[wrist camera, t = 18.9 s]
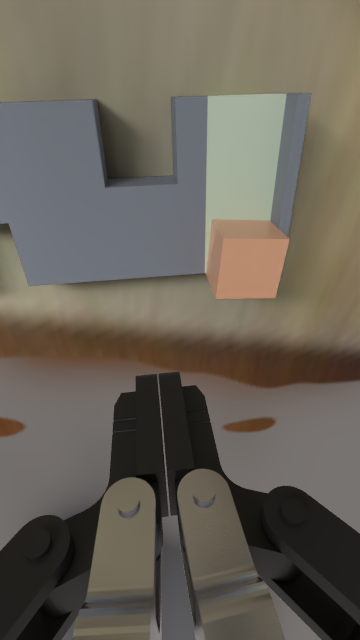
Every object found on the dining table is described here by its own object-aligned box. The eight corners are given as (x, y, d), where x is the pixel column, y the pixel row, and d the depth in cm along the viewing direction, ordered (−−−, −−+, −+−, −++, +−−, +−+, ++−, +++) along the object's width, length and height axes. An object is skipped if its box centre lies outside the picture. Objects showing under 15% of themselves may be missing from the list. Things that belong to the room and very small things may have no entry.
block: (211, 219, 25) (223, 238, 21) (269, 220, 25) (289, 239, 22) (205, 274, 27) (215, 298, 24) (258, 273, 28) (275, 298, 24)
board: (-210, 109, 21) (-292, 112, 17) (281, 93, 23) (311, 92, 19) (-110, 280, 27) (-151, 311, 24) (261, 253, 30) (281, 277, 26)
